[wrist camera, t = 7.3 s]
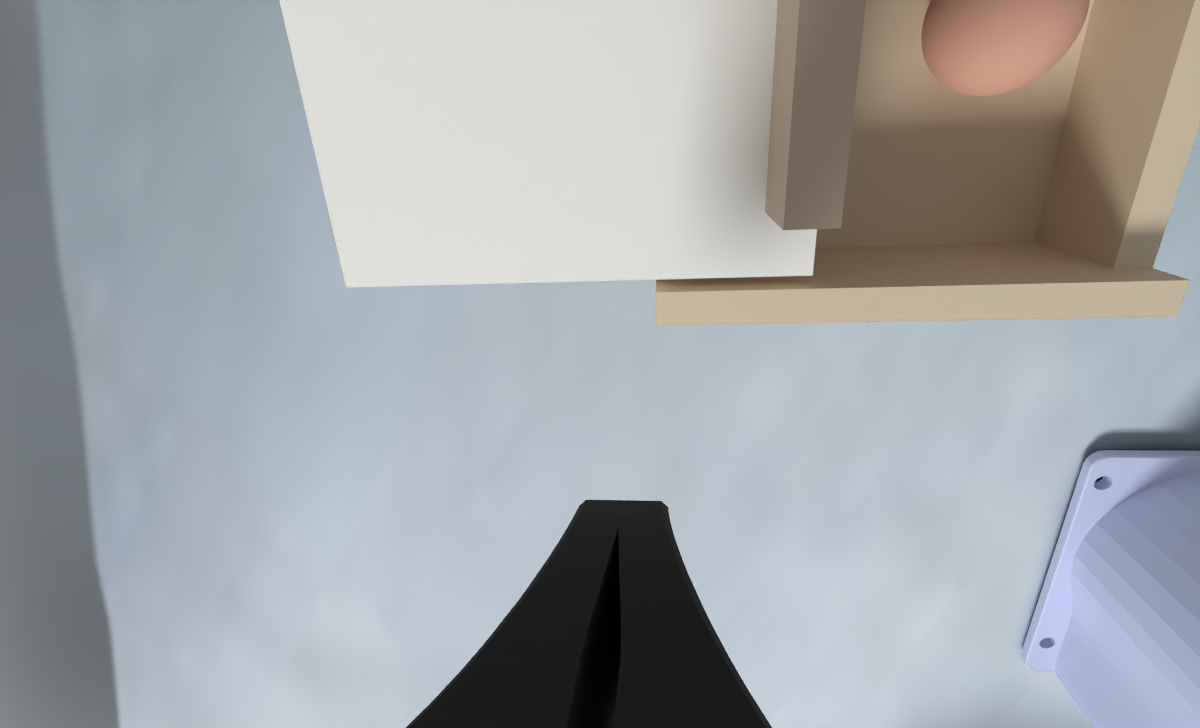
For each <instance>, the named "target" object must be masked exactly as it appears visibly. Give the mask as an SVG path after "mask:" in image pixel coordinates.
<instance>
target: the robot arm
mask: <svg viewBox="0 0 1200 728" xmlns="http://www.w3.org/2000/svg"><path fill="white" fill-rule="evenodd" d="M1100 477H1103V478H1102V479H1101V480H1100V481H1098V482H1095V481H1096V479H1098V478H1100ZM1021 659H1022V660H1023V662H1024V663H1025V665H1026V667H1027V668H1029V669H1030V670H1034V671H1046V672H1055V674H1056V675H1057V677H1058V678H1059V680H1060V681H1061V682H1062V684H1063V685H1064V687H1065V688H1066V690H1067V691H1068V692H1069V694H1070V695H1071V697H1072V698H1073V700H1074V701H1075V702H1076V704H1077V705H1078V707H1079V708H1080V710H1081V711H1082V712H1083V714H1084V715H1085V717H1086V718H1087V720H1088V721H1089V722H1090V724H1091V725H1092V727H1093V728H1200V451H1148V450H1103V451H1097V452H1095V453H1093V454H1091V455H1090V456H1088V457H1087V458H1086V460H1085V461H1084V463H1083V466H1082V469H1081V472H1080V475H1079V478H1078V481H1077V484H1076V487H1075V490H1074V493H1073V496H1072V499H1071V502H1070V505H1069V508H1068V511H1067V514H1066V517H1065V521H1064V524H1063V527H1062V530H1061V533H1060V536H1059V539H1058V542H1057V545H1056V548H1055V551H1054V554H1053V557H1052V560H1051V563H1050V566H1049V569H1048V572H1047V575H1046V579H1045V582H1044V585H1043V588H1042V591H1041V594H1040V597H1039V600H1038V603H1037V606H1036V609H1035V612H1034V615H1033V618H1032V621H1031V624H1030V627H1029V630H1028V633H1027V637H1026V640H1025V643H1024V646H1023V649H1022V652H1021ZM406 728H772V727H771V725H770V724H769V722H768V721H767V719H766V718H765V716H764V714H763V713H762V711H761V710H760V708H759V707H758V705H757V703H756V702H755V700H754V699H753V697H752V695H751V694H750V692H749V691H748V689H747V687H746V686H745V684H744V682H743V681H742V679H741V677H740V675H739V674H738V672H737V670H736V669H735V667H734V665H733V663H732V662H731V660H730V658H729V656H728V654H727V652H726V651H725V649H724V647H723V645H722V643H721V641H720V639H719V638H718V636H717V634H716V632H715V630H714V628H713V626H712V624H711V622H710V620H709V618H708V616H707V614H706V612H705V610H704V608H703V606H702V604H701V602H700V599H699V597H698V595H697V593H696V591H695V588H694V586H693V584H692V582H691V580H690V577H689V575H688V573H687V570H686V568H685V565H684V563H683V560H682V558H681V555H680V552H679V549H678V546H677V544H676V541H675V537H674V534H673V531H672V527H671V523H670V518H669V513H668V507H667V506H666V505H665V504H664V503H663V502H662V501H622V500H585V501H584V502H583V503H582V504H581V505H580V506H579V508H578V510H577V512H576V514H575V515H574V517H573V519H572V521H571V523H570V524H569V526H568V528H567V529H566V531H565V533H564V534H563V536H562V538H561V539H560V541H559V542H558V544H557V546H556V547H555V549H554V550H553V552H552V553H551V555H550V557H549V558H548V560H547V561H546V562H545V564H544V565H543V567H542V568H541V570H540V571H539V572H538V574H537V575H536V577H535V578H534V580H533V581H532V582H531V584H530V585H529V587H528V588H527V590H526V591H525V592H524V594H523V595H522V596H521V598H520V599H519V601H518V602H517V603H516V604H515V606H514V607H513V608H512V609H511V611H510V612H509V613H508V615H507V616H506V617H505V618H504V620H503V621H502V622H501V623H500V625H499V626H498V627H497V628H496V630H495V631H494V632H493V634H492V635H491V636H490V637H489V639H488V640H487V641H486V642H485V643H484V645H483V646H482V647H481V648H480V649H479V650H478V652H477V653H476V654H475V655H474V656H473V657H472V659H471V660H470V661H469V662H468V663H467V664H466V665H465V667H464V668H463V669H462V670H461V671H460V672H459V673H458V674H457V676H456V677H455V678H454V679H453V680H452V681H451V682H450V683H449V684H448V685H447V686H446V687H445V688H444V690H443V691H442V692H441V693H440V694H439V695H438V696H437V697H436V698H435V699H434V700H433V701H432V702H431V703H430V704H429V705H428V706H427V707H426V708H425V709H424V710H423V711H422V712H421V713H420V714H419V715H418V716H417V717H416V718H415V719H414V720H413V721H412V722H411V723H410V724H409V725H408V726H407V727H406Z"/></svg>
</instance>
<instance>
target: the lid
mask: <svg viewBox="0 0 1200 728" xmlns="http://www.w3.org/2000/svg"><path fill="white" fill-rule="evenodd" d="M280 5H281V9H282V13H283V18H284V22H285V26H286V30H287V35H288V39H289V43H290V48H291V52H292V56H293V61H294V65H295V69H296V73H297V78H298V82H299V86H300V91H301V95H302V99H303V103H304V108H305V112H306V116H307V121H308V125H309V129H310V134H311V138H312V142H313V146H314V151H315V155H316V159H317V164H318V168H319V172H320V176H321V181H322V185H323V189H324V194H325V198H326V202H327V207H328V211H329V215H330V219H331V224H332V228H333V232H334V237H335V241H336V245H337V250H338V254H339V258H340V262H341V267H342V271H343V275H344V280H345V284H346V287H381V286H420V285H460V284H500V283H539V282H579V281H618V280H658V279H697V278H737V277H776V276H813V267H814V256H815V246H816V235H817V229H836V228H841V223H842V214H843V205H844V196H845V187H846V178H847V169H848V160H849V151H850V142H851V133H852V124H853V115H854V106H855V97H856V88H857V79H858V70H859V61H860V52H861V43H862V34H863V25H864V16H865V7H866V0H280Z"/></svg>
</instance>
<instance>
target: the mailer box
mask: <svg viewBox="0 0 1200 728" xmlns="http://www.w3.org/2000/svg"><path fill="white" fill-rule="evenodd" d="M930 2H931V0H866V7H865V16H864V25H863V34H862V43H861V52H860V61H859V70H858V79H857V88H856V97H855V106H854V115H853V124H852V133H851V142H850V151H849V160H848V169H847V178H846V187H845V196H844V205H843V214H842V223H841V228H836V229H817V235H816V246H815V256H814V267H813V276H776V277H737V278H697V279H658V280H656V326H657V325H717V324H777V323H837V322H897V321H956V320H1016V319H1076V318H1136V317H1176V316H1177V314H1178V311H1179V308H1180V305H1181V303H1182V300H1183V297H1184V294H1185V291H1186V289H1187V286H1188V283H1189V280H1187V279H1184V278H1181V277H1178V276H1175V275H1172V274H1169V273H1166V272H1163V271H1160V270H1157V269H1153V265H1154V261H1155V258H1156V255H1157V252H1158V249H1159V246H1160V243H1161V240H1162V237H1163V234H1164V231H1165V228H1166V225H1167V222H1168V219H1169V216H1170V213H1171V210H1172V207H1173V204H1174V201H1175V198H1176V195H1177V192H1178V189H1179V186H1180V183H1181V180H1182V177H1183V174H1184V171H1185V168H1186V165H1187V162H1188V159H1189V156H1190V153H1191V150H1192V147H1193V144H1194V141H1195V138H1196V135H1197V132H1198V129H1199V126H1200V0H1090V3H1089V9H1088V13H1087V16H1086V19H1085V22H1084V24H1083V27H1082V29H1081V31H1080V33H1079V35H1078V36H1077V38H1076V40H1075V41H1074V43H1073V44H1072V46H1071V47H1070V48H1069V50H1068V51H1067V52H1066V53H1065V55H1064V56H1063V57H1062V58H1061V59H1060V60H1059V61H1058V62H1057V63H1056V64H1055V65H1054V66H1053V67H1052V68H1051V69H1049V70H1048V71H1047V72H1046V73H1044V74H1043V75H1042V76H1040V77H1039V78H1037V79H1036V80H1034V81H1033V82H1031V83H1029V84H1027V85H1025V86H1023V87H1020V88H1018V89H1016V90H1013V91H1010V92H1007V93H1003V94H999V95H992V96H971V95H964V94H961V93H958V92H955V91H953V90H951V89H949V88H947V87H946V86H944V85H943V84H941V83H940V82H939V81H938V80H937V79H936V78H935V77H934V76H933V74H932V73H931V71H930V70H929V68H928V66H927V64H926V62H925V59H924V56H923V51H922V42H921V35H922V26H923V22H924V18H925V15H926V12H927V9H928V6H929V4H930Z"/></svg>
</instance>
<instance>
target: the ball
mask: <svg viewBox="0 0 1200 728" xmlns="http://www.w3.org/2000/svg"><path fill="white" fill-rule="evenodd" d="M1089 3H1090V0H931V2H930V4H929V6H928V9H927V12H926V15H925V18H924V22H923V26H922V35H921V42H922V51H923V56H924V59H925V62H926V64H927V66H928V68H929V70H930V71H931V73H932V74H933V76H934V77H935V78H936V79H937V80H938V81H939V82H940V83H941V84H943V85H944V86H946V87H947V88H949V89H951V90H953V91H955V92H958V93H961V94H964V95H971V96H992V95H999V94H1003V93H1007V92H1010V91H1013V90H1016V89H1018V88H1020V87H1023V86H1025V85H1027V84H1029V83H1031V82H1033V81H1034V80H1036V79H1037V78H1039V77H1040V76H1042V75H1043V74H1044V73H1046V72H1047V71H1048V70H1049V69H1051V68H1052V67H1053V66H1054V65H1055V64H1056V63H1057V62H1058V61H1059V60H1060V59H1061V58H1062V57H1063V56H1064V55H1065V53H1066V52H1067V51H1068V50H1069V48H1070V47H1071V46H1072V44H1073V43H1074V41H1075V40H1076V38H1077V36H1078V35H1079V33H1080V31H1081V29H1082V27H1083V24H1084V22H1085V19H1086V16H1087V13H1088V9H1089Z"/></svg>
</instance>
